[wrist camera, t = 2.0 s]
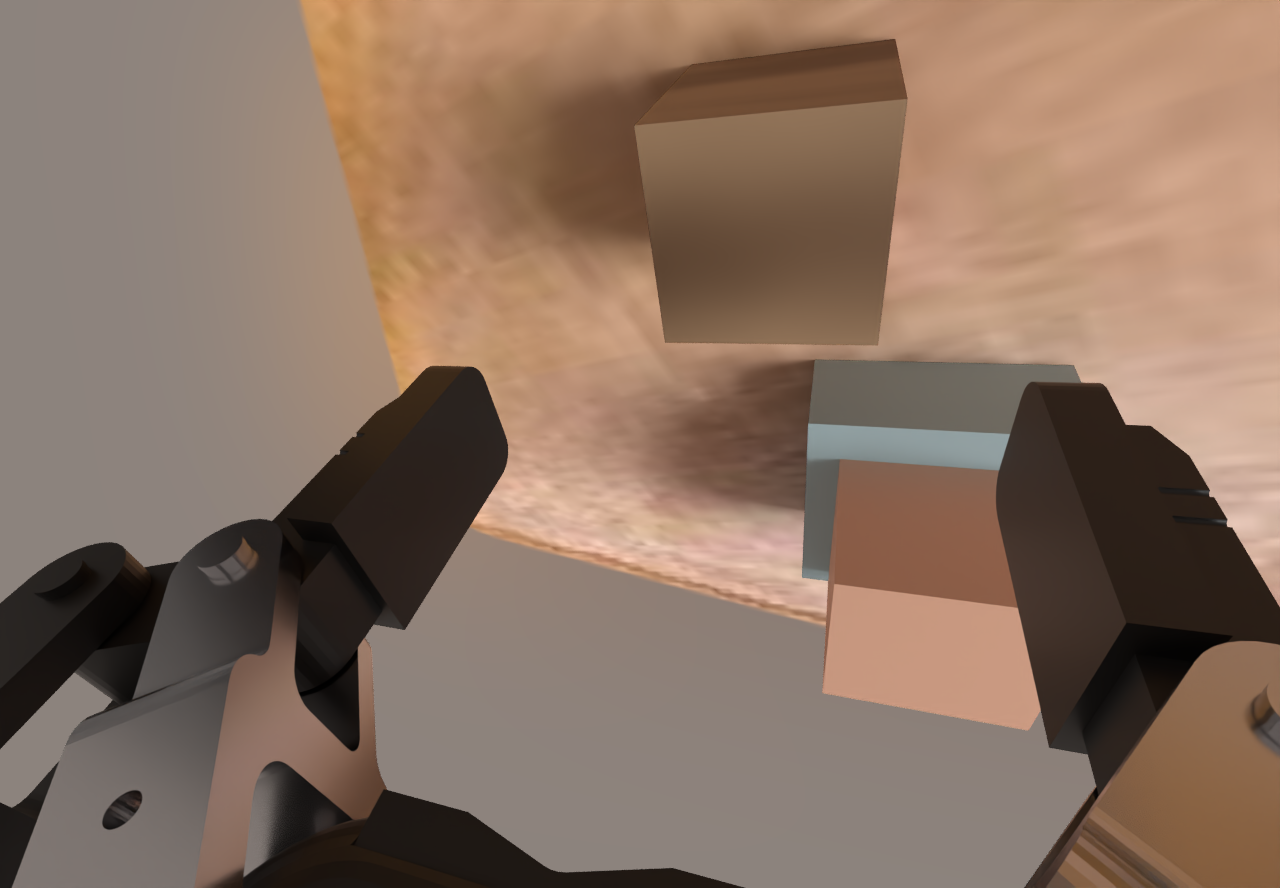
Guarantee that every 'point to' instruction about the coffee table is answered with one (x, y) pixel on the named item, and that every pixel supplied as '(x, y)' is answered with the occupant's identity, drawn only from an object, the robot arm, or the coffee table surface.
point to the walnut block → (775, 195)
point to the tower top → (924, 596)
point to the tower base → (905, 425)
